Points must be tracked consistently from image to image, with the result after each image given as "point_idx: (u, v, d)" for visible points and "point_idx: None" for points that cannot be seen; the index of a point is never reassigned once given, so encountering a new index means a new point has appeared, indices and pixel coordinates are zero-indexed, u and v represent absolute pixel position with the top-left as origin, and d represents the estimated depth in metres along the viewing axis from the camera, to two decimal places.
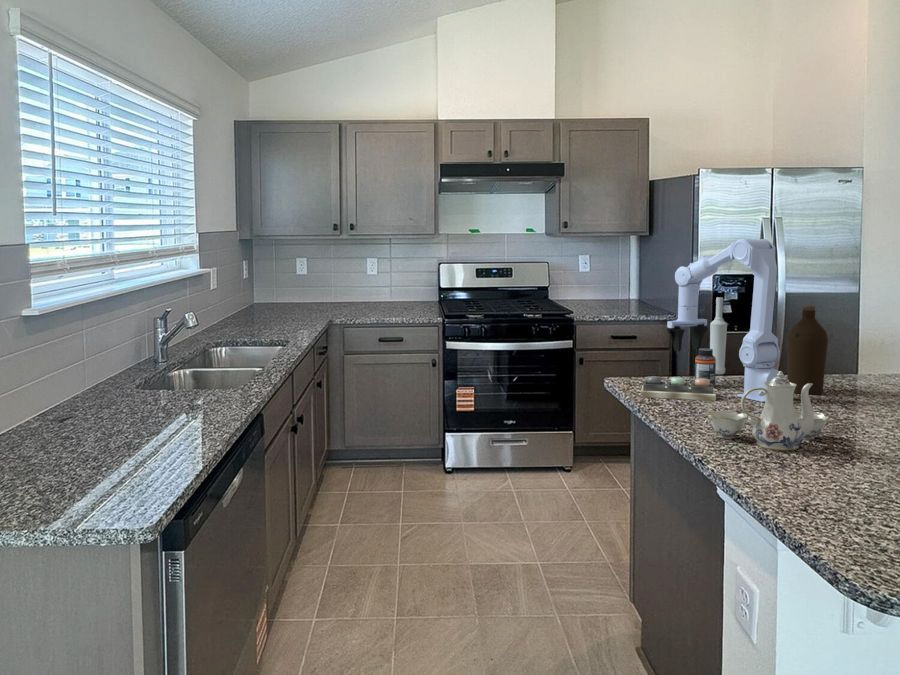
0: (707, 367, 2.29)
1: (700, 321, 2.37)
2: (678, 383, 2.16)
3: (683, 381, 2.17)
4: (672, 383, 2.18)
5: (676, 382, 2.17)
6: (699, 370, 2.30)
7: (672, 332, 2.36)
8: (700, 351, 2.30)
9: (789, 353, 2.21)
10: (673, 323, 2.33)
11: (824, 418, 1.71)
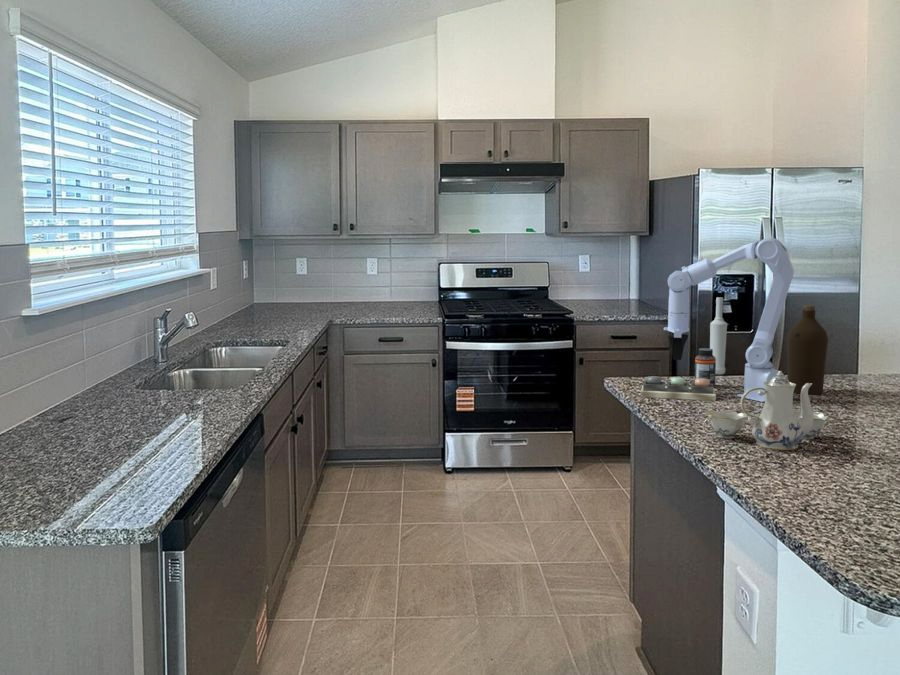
0: (707, 367, 2.29)
1: None
2: (678, 383, 2.16)
3: (683, 381, 2.17)
4: (672, 383, 2.18)
5: (676, 382, 2.17)
6: (699, 370, 2.30)
7: (673, 340, 2.22)
8: (700, 351, 2.30)
9: (789, 353, 2.21)
10: (681, 332, 2.16)
11: (823, 418, 1.71)
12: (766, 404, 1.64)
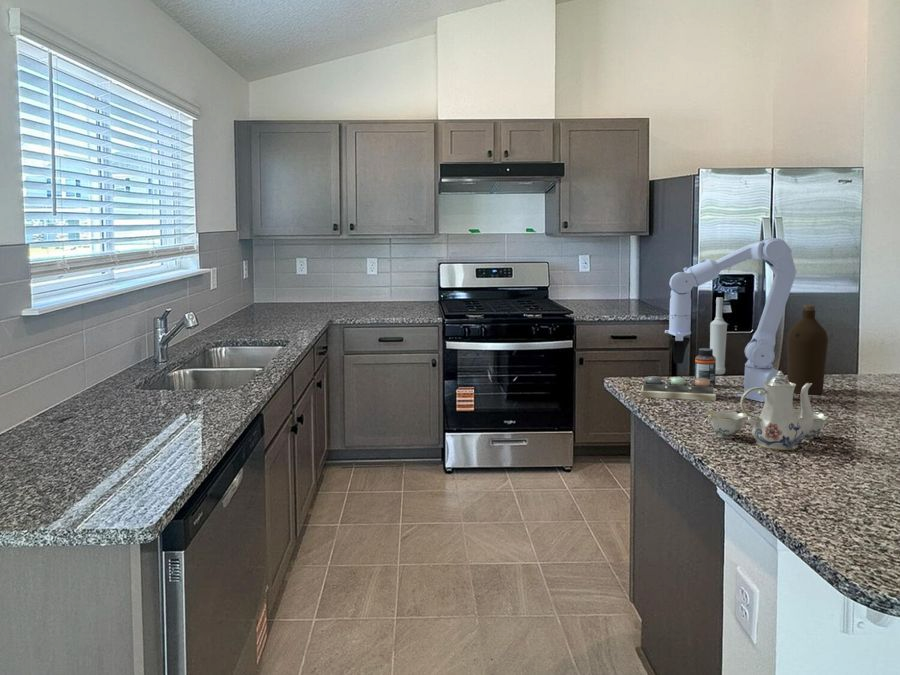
0: (707, 367, 2.29)
1: None
2: (678, 383, 2.16)
3: (683, 381, 2.17)
4: (672, 383, 2.18)
5: (676, 382, 2.17)
6: (699, 370, 2.30)
7: (674, 343, 2.16)
8: (700, 351, 2.30)
9: (789, 353, 2.21)
10: (683, 335, 2.10)
11: (823, 418, 1.71)
12: (766, 404, 1.65)
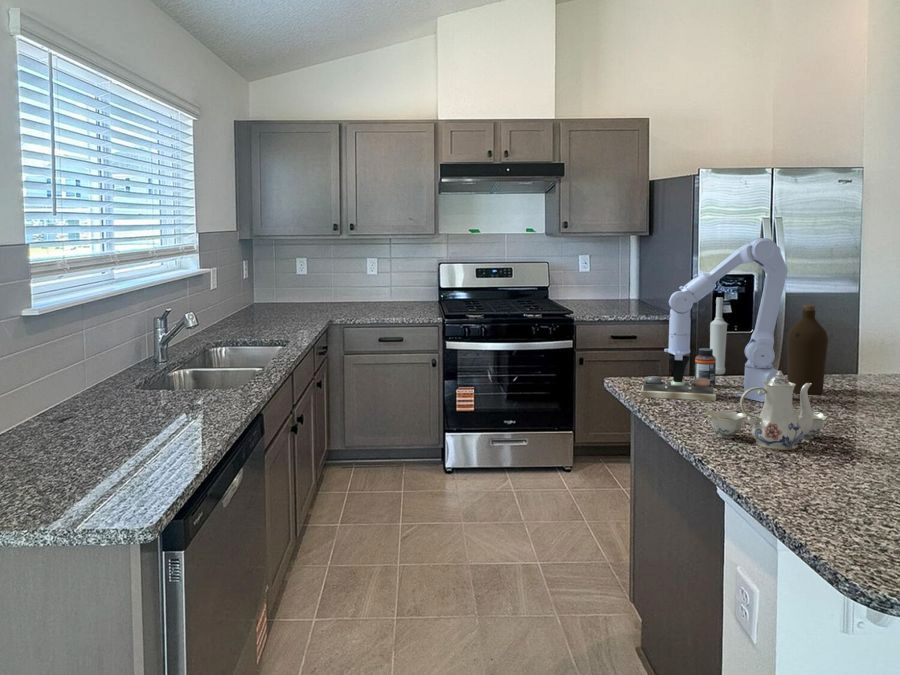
0: (707, 367, 2.29)
1: None
2: None
3: (683, 384, 2.17)
4: None
5: None
6: (699, 370, 2.30)
7: (674, 362, 2.17)
8: (700, 351, 2.30)
9: (789, 353, 2.21)
10: (682, 354, 2.11)
11: (823, 418, 1.72)
12: (766, 404, 1.65)
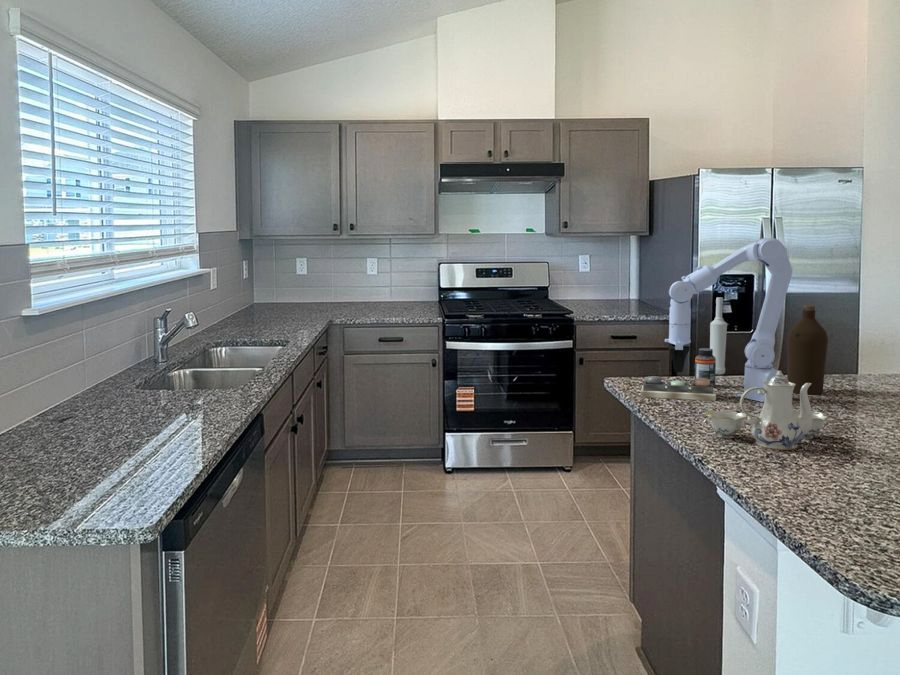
0: (707, 367, 2.29)
1: None
2: None
3: (683, 385, 2.17)
4: None
5: None
6: (699, 370, 2.30)
7: (674, 352, 2.16)
8: (700, 351, 2.30)
9: (789, 353, 2.21)
10: (683, 344, 2.10)
11: (823, 417, 1.72)
12: (765, 404, 1.65)
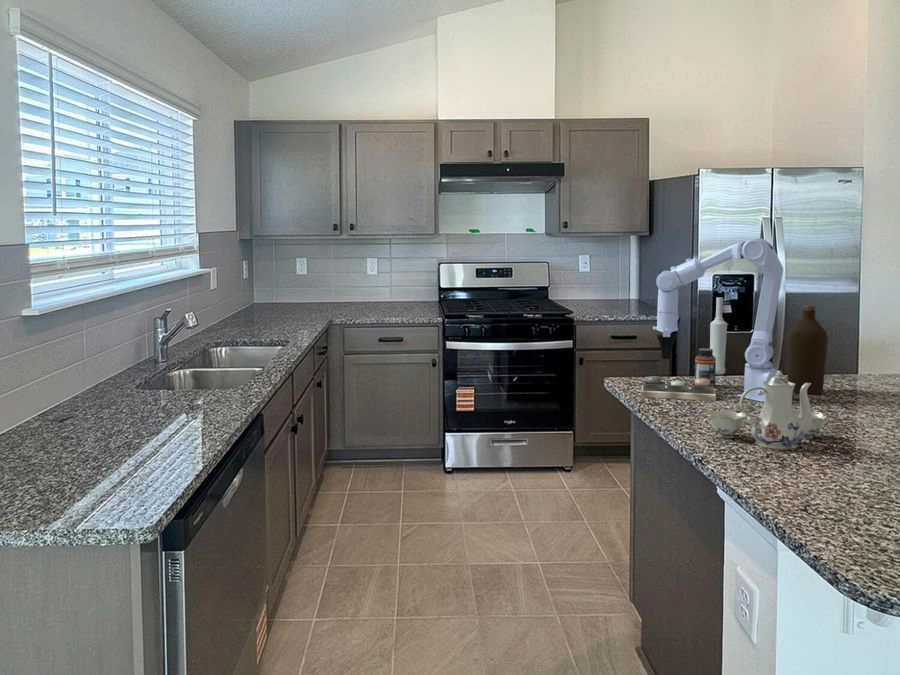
0: (707, 367, 2.29)
1: None
2: None
3: (683, 385, 2.17)
4: None
5: None
6: (699, 370, 2.30)
7: (662, 339, 2.24)
8: (700, 351, 2.30)
9: (789, 353, 2.21)
10: (670, 331, 2.18)
11: (822, 417, 1.72)
12: (765, 404, 1.65)
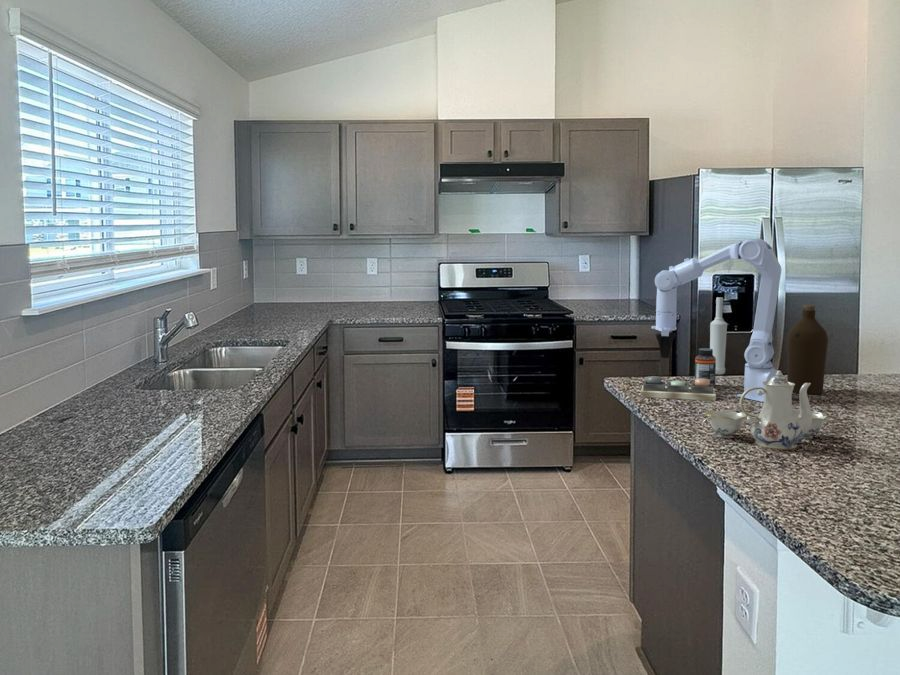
0: (707, 367, 2.29)
1: None
2: None
3: (683, 385, 2.17)
4: None
5: None
6: (699, 370, 2.30)
7: (661, 339, 2.25)
8: (700, 351, 2.30)
9: (789, 353, 2.21)
10: (668, 331, 2.19)
11: (822, 417, 1.72)
12: (765, 404, 1.65)
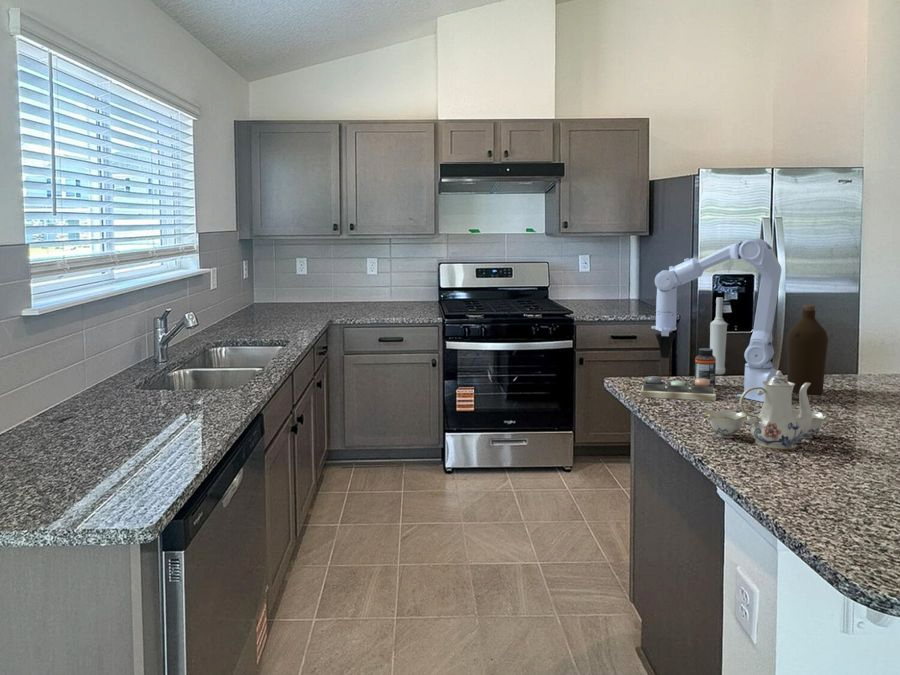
0: (707, 367, 2.29)
1: None
2: None
3: (683, 385, 2.17)
4: None
5: None
6: (699, 370, 2.30)
7: (661, 339, 2.25)
8: (700, 351, 2.30)
9: (789, 353, 2.21)
10: (668, 331, 2.19)
11: (822, 417, 1.72)
12: (765, 403, 1.65)
